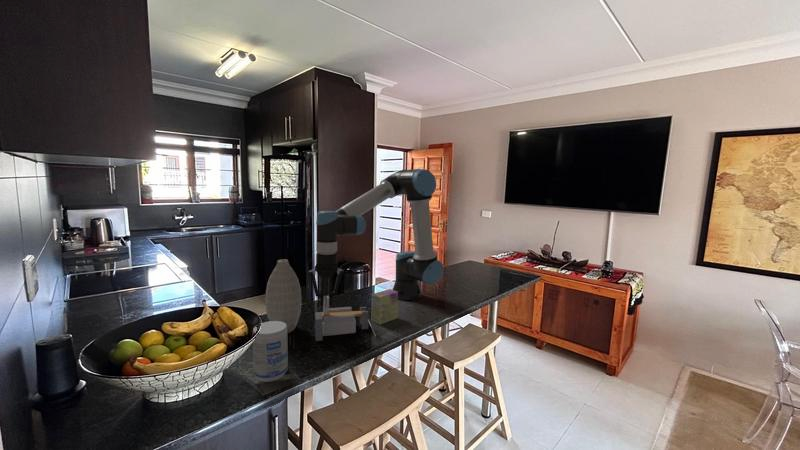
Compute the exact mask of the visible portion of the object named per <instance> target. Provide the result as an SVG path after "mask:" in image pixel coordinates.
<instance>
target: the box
mask: <svg viewBox="0 0 800 450" xmlns="http://www.w3.org/2000/svg"><path fill="white" fill-rule="evenodd" d="M398 315H399V299H398V292H397V291H394V290H393V289H391V288H390V289H385V290H382V291H378V292H375V293H371V315H370V316H371V321H372V322H373V323H375V324H377V325H383V324H386V323H389V322H391V321H393V320H396V319H398V318H399V317H398ZM371 321H370V322H371Z"/></svg>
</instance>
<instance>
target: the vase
mask: <svg viewBox="0 0 800 450" xmlns="http://www.w3.org/2000/svg"><path fill="white" fill-rule="evenodd" d="M267 280H268V281H267V284H266V289H265V312H266V316H267V320H268V322H269V321H281V322H284V323H285V324H286V325H287V334H289V333H291V332H293V331H294V330H295V329H296V327H297V325H298V322H299V320H300V316H301V311H302V289H301V284H300V282H299V278H298V276H297V274H296V272H295V271H294V269H293V268H292V267H291V264H290V263H289V260H288V259H285V258H284V259H283V258H281V259H278V260H276V265H275V267H274V269H273V270H272V272H271V274H270V276H269V278H268V279H267Z"/></svg>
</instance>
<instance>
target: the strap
mask: <svg viewBox="0 0 800 450" xmlns="http://www.w3.org/2000/svg"><path fill="white" fill-rule="evenodd" d="M362 311H365V310H362ZM362 311H360V310H352V311H349V312H335V313H329V315H327V313H325V315H323V311H318V312H315V313H322V318H323V320H324V316H335V315H346V314H354V317H356V318H357V317H360V316H362Z"/></svg>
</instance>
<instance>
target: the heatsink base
mask: <svg viewBox="0 0 800 450" xmlns="http://www.w3.org/2000/svg"><path fill="white" fill-rule="evenodd" d="M362 310H365V311H362ZM349 311H353V308H352V306H344V307H343V306H342V307H331V308H330V307H329V313H335V312H349ZM359 311H362V316H359V325H360V326H361V330H368V329H369V326H370V328H371V331H372V333H373V335H374V337H375V338H377V334H376V332H375V330H374V328H373V326H372V323H371V321H370V320H369V311H368V310H367V306H360V307H359ZM325 313H326V308H325ZM356 327H357V320H356V318H355V317H354V314H346V315H335V316H324V320H323V337H328V336H337V335H347V334H355V333H356V332H357V328H356Z"/></svg>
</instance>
